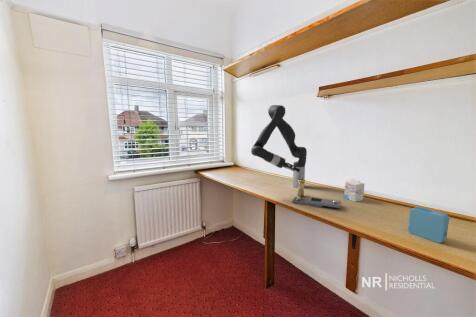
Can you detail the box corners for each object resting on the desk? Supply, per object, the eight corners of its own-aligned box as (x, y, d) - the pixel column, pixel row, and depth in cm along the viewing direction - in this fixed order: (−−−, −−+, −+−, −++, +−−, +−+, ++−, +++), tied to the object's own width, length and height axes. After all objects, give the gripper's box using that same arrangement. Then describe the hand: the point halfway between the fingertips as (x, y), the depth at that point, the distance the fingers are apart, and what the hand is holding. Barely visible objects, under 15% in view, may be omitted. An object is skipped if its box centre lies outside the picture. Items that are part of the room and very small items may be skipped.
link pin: (298, 194, 151) (298, 178, 149) (305, 195, 148) (305, 179, 147) (296, 196, 146) (296, 180, 145) (303, 197, 144) (304, 181, 142)
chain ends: (292, 202, 134) (292, 196, 134) (295, 198, 142) (295, 193, 141) (340, 210, 121) (340, 203, 120) (340, 205, 128) (341, 199, 128)
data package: (446, 241, 87) (450, 214, 86) (442, 244, 85) (445, 217, 83) (411, 229, 98) (414, 205, 96) (407, 232, 96) (410, 207, 94)
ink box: (343, 198, 142) (344, 179, 141) (351, 196, 146) (353, 177, 144) (355, 202, 135) (356, 182, 133) (363, 200, 138) (365, 180, 136)
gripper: (282, 156, 139) (303, 166, 142) (276, 156, 154) (294, 165, 156) (278, 166, 139) (298, 176, 141) (272, 165, 153) (290, 174, 155)
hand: (296, 170), depth 149 cm, fingers open, 8 cm apart
